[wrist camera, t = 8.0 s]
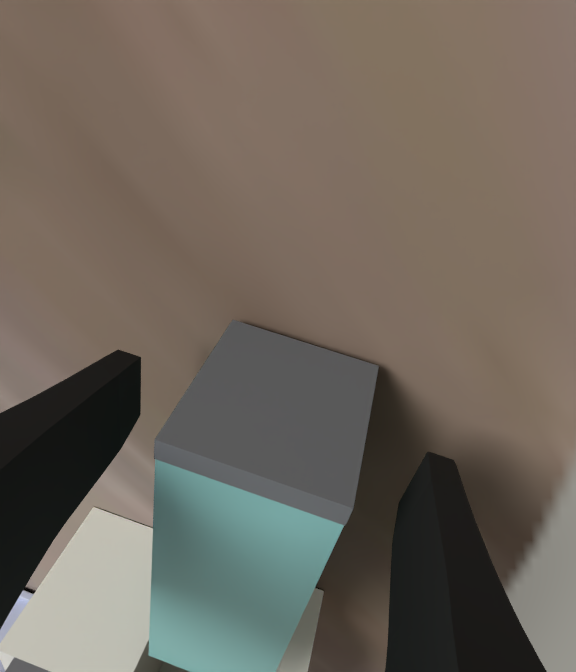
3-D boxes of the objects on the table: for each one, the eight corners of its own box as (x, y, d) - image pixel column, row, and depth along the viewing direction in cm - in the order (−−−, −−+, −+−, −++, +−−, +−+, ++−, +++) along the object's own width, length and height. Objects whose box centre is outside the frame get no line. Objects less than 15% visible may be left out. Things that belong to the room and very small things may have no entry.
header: (288, 663, 25) (247, 834, 20) (101, 592, 26) (18, 737, 21) (324, 591, 20) (283, 792, 15) (93, 506, 21) (-18, 669, 16)
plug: (296, 572, 19) (262, 701, 16) (200, 537, 20) (147, 655, 16) (378, 365, 13) (353, 508, 9) (232, 319, 13) (154, 439, 10)
